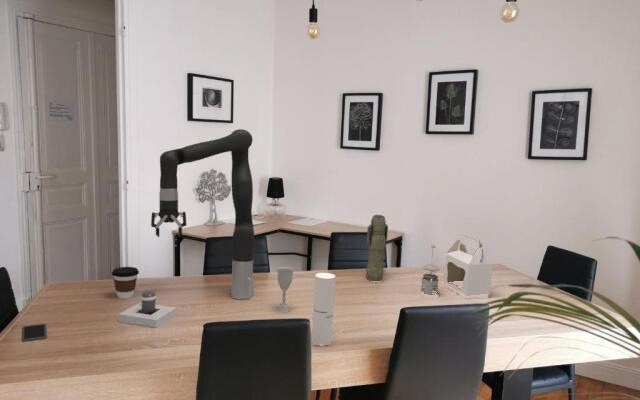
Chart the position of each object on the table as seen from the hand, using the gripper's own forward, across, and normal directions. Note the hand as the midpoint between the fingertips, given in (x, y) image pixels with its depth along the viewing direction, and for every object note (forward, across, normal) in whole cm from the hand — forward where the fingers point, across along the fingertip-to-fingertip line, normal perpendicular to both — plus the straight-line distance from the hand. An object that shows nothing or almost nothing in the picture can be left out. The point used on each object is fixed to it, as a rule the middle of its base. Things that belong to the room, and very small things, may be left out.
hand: (168, 236), depth 206 cm
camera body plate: (+28, +9, +20) cm, 36 cm away
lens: (+28, +9, +20) cm, 36 cm away
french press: (+31, -122, +15) cm, 127 cm away
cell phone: (+28, +46, +26) cm, 60 cm away
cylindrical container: (+30, -50, +56) cm, 81 cm away
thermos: (+30, -105, -11) cm, 110 cm away
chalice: (+29, -46, +22) cm, 58 cm away
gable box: (+31, -144, +15) cm, 148 cm away
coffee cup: (+28, +18, -8) cm, 34 cm away
